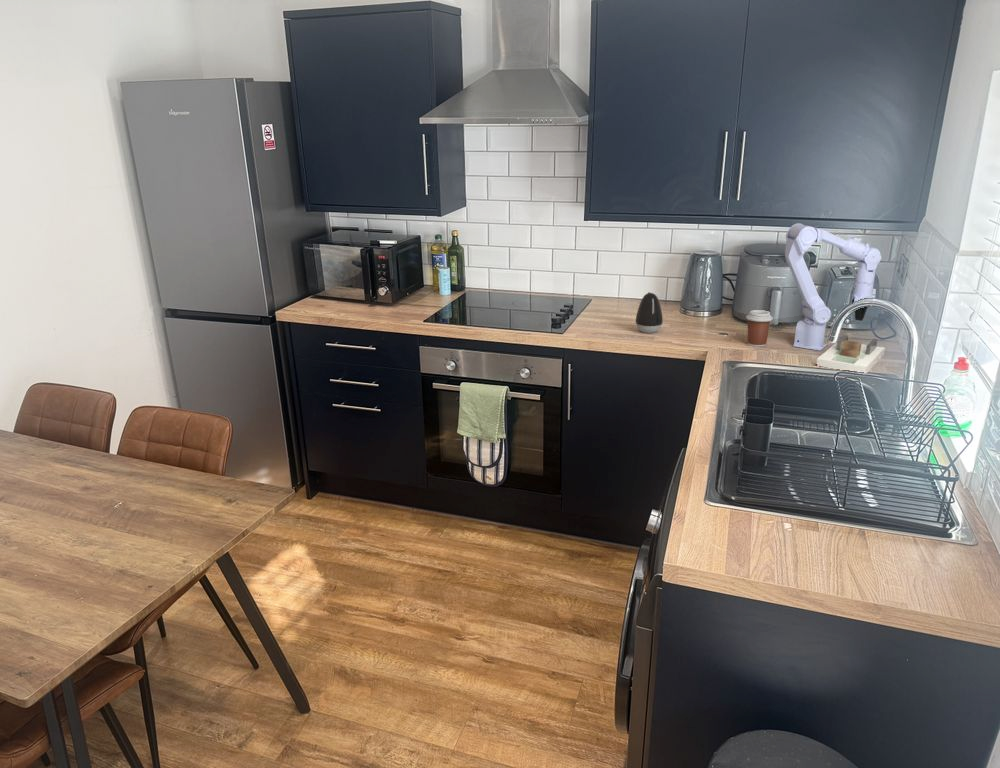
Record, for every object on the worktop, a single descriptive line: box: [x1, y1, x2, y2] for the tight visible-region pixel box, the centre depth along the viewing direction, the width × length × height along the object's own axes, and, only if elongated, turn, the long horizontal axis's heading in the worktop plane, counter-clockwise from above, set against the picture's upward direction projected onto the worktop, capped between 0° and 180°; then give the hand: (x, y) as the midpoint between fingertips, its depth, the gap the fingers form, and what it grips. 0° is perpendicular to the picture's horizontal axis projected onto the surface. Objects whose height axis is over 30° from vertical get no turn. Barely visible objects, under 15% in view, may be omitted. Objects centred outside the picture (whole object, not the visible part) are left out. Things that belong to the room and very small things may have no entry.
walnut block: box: [840, 340, 862, 358], centre depth 243 cm, size 5×5×4 cm
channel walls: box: [836, 334, 878, 355], centre depth 249 cm, size 10×10×3 cm
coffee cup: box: [745, 309, 774, 348], centre depth 264 cm, size 9×9×12 cm
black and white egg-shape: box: [635, 292, 664, 334], centre depth 282 cm, size 10×10×15 cm
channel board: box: [815, 341, 886, 374], centre depth 246 cm, size 15×26×2 cm, turn 142°
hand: (859, 320), depth 259 cm, fingers closed
